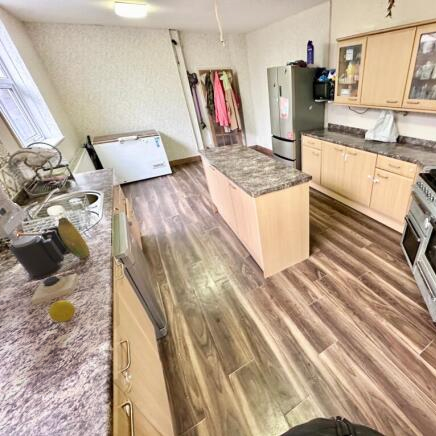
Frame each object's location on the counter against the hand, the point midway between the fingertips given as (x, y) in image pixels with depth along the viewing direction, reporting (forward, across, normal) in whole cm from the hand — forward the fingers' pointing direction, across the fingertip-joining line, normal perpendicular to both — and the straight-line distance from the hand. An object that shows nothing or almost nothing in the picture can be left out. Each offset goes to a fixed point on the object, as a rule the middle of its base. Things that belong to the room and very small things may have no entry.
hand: (19, 236), depth 98 cm
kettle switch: (+2, 0, +5) cm, 5 cm away
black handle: (+12, 0, +10) cm, 15 cm away
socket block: (+12, +31, +14) cm, 36 cm away
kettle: (+12, +15, +8) cm, 21 cm away
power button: (+8, +31, +15) cm, 35 cm away
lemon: (+12, +50, +22) cm, 56 cm away
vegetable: (+12, +12, +20) cm, 26 cm away
